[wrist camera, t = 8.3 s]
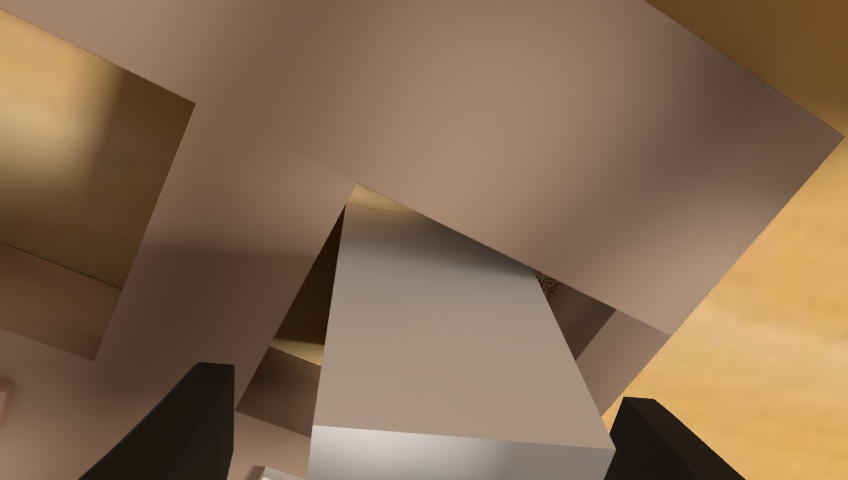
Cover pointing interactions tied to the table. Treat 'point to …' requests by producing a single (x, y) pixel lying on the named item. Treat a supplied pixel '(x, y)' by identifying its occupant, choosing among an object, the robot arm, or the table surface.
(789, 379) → the table surface
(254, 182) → the socket board
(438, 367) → the plug
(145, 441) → the robot arm
